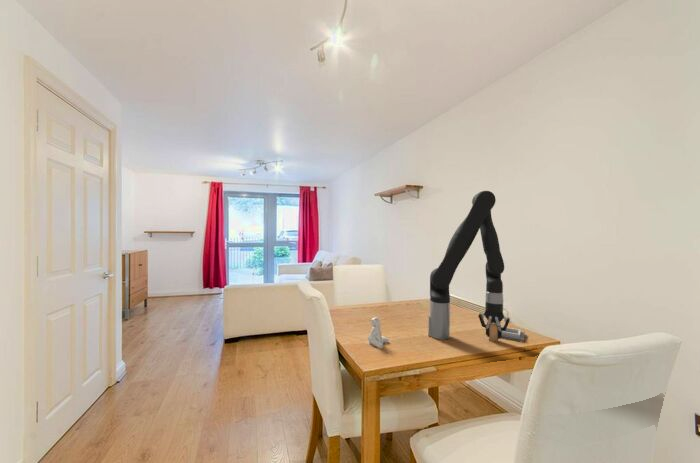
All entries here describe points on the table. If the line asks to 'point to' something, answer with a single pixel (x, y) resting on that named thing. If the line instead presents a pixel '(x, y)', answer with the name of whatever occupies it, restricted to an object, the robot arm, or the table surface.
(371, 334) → the white creature statuette
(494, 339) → the brown peg
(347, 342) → the table surface
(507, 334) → the housing
